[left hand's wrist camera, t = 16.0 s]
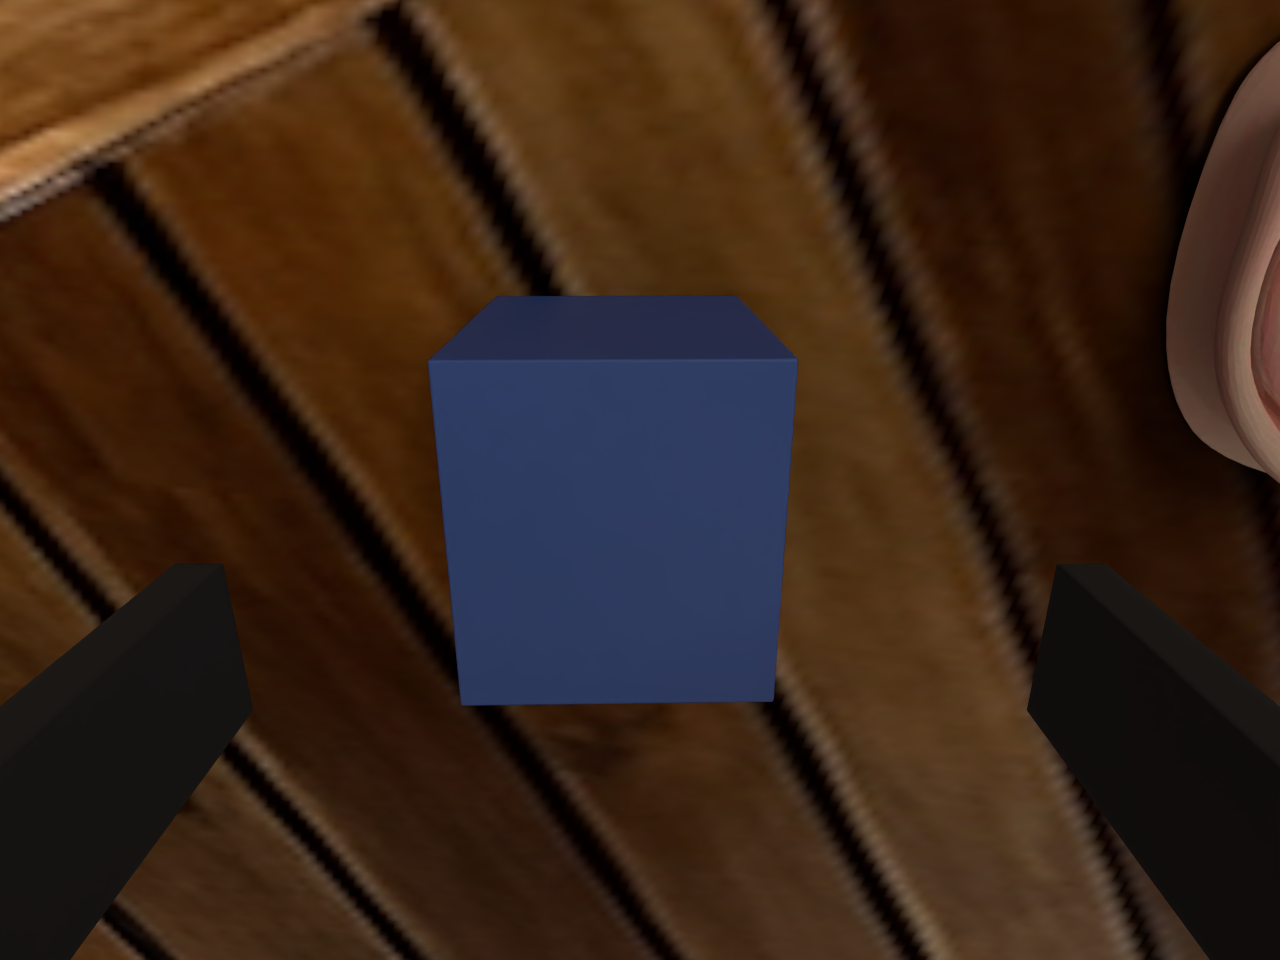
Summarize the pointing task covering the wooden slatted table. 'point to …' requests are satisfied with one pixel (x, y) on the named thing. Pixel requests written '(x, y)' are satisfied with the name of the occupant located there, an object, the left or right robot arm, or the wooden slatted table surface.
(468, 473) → the block
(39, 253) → the wooden slatted table surface
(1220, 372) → the anatomical model
